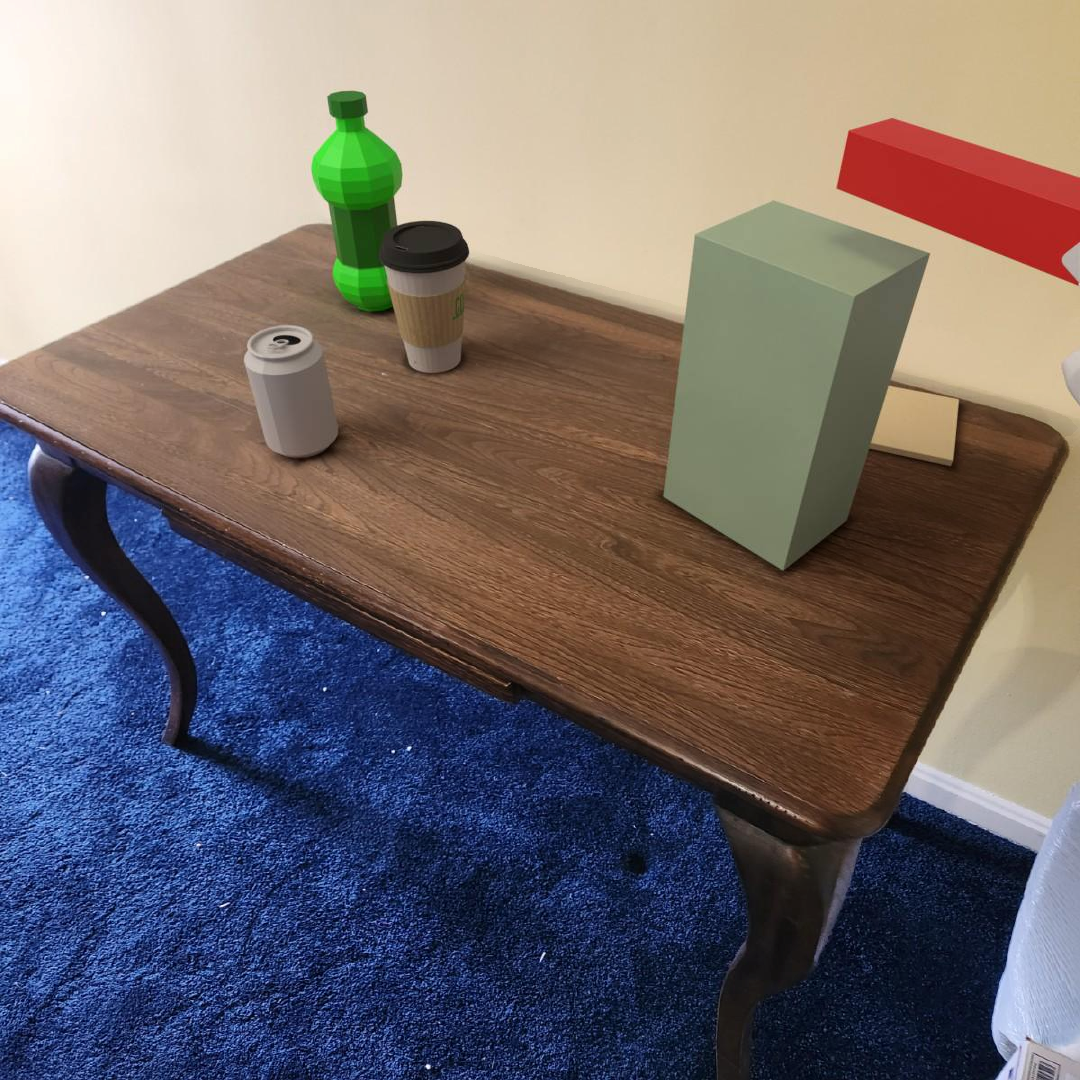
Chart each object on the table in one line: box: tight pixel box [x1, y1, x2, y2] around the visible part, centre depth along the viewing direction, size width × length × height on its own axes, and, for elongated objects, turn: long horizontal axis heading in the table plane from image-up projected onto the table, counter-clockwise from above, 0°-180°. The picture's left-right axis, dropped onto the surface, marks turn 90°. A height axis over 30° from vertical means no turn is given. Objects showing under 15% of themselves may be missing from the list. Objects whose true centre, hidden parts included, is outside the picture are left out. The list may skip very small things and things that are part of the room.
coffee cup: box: [379, 220, 470, 374], centre depth 97 cm, size 10×10×15 cm
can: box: [243, 324, 339, 459], centre depth 86 cm, size 8×8×12 cm
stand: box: [662, 200, 931, 572], centre depth 73 cm, size 14×10×26 cm
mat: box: [869, 385, 960, 467], centre depth 93 cm, size 20×12×1 cm, turn 67°
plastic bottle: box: [310, 90, 403, 313], centre depth 105 cm, size 10×10×25 cm
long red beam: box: [835, 117, 1080, 287], centre depth 54 cm, size 24×4×4 cm, turn 33°
